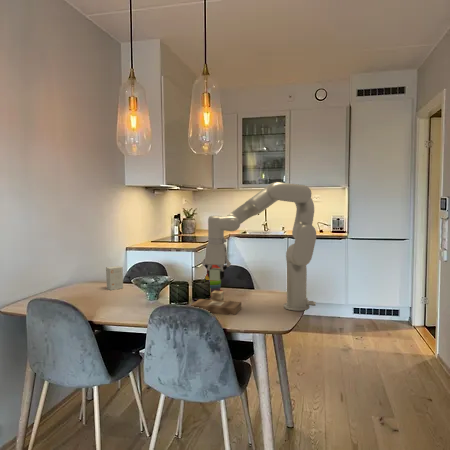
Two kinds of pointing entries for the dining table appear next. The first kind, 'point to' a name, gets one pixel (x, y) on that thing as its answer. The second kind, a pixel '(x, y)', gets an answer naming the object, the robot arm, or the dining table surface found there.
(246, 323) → the dining table surface
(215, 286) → the stacking bear
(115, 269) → the small box
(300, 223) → the robot arm
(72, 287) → the dining table surface
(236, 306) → the base board
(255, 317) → the dining table surface
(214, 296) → the beech block
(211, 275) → the sage cube
